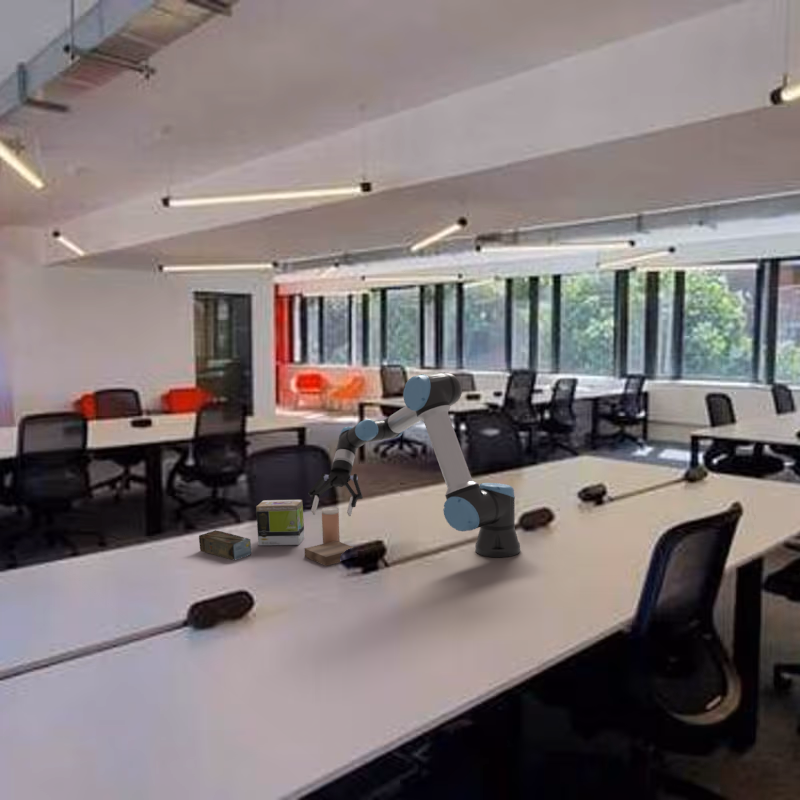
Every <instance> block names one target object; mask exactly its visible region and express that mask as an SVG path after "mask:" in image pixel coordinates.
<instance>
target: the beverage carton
mask: <svg viewBox="0 0 800 800" xmlns="http://www.w3.org/2000/svg"><path fill="white" fill-rule="evenodd" d="M198 541H199V550H200V552H203V553H207V554H211V555H214V556H218V557H220V556H221V558H224V557H225V559H228V558H229V560H232V559H234V560H233V561H236V560H235V559H237V560H240V559H242V558H241V557H243V558H245V556H246V557H248V556H247V555H249V556H250V554H251V555H252V546H251V544H252V543H251V538H249V537H243V536H240V535H236V534H233V533H229V532H224V531H220V530H216V529H215V530H212V531H208V532H206V533H202V534H199V535H198ZM239 558H240V559H239Z"/></svg>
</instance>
